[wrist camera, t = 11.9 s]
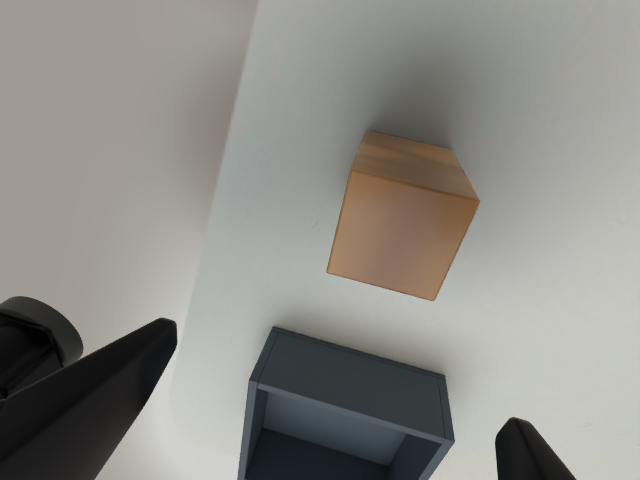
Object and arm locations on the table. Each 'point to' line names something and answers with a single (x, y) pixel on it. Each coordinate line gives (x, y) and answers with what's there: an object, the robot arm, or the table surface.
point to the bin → (341, 415)
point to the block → (402, 216)
